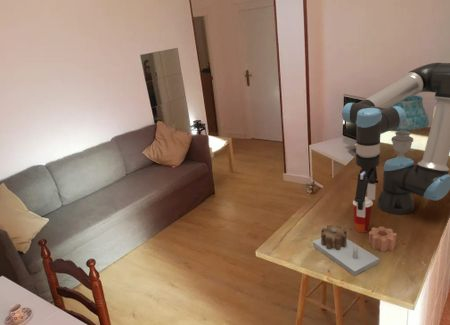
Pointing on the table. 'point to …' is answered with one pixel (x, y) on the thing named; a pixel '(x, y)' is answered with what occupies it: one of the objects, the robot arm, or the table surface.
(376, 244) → the gear
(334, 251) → the gear board
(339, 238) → the gear
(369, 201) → the paper cup
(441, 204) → the table surface
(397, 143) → the table lamp
